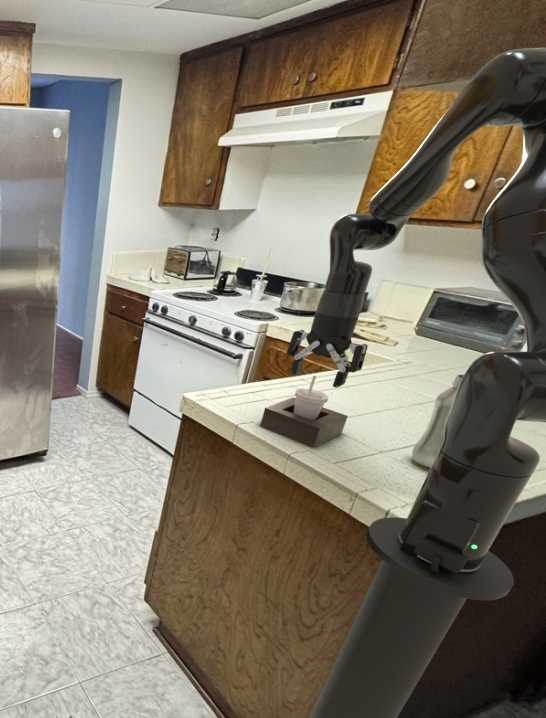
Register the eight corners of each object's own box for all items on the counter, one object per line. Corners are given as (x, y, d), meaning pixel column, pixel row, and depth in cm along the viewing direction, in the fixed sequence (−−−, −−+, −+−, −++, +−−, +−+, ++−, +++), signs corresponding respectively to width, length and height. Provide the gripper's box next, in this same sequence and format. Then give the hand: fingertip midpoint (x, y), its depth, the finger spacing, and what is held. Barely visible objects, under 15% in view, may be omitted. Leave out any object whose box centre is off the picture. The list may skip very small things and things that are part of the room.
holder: (313, 447, 106) (320, 428, 104) (259, 425, 116) (264, 407, 114) (341, 434, 111) (348, 415, 109) (287, 414, 121) (293, 397, 119)
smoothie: (288, 421, 118) (304, 369, 112) (319, 430, 113) (337, 376, 108) (281, 430, 113) (297, 377, 108) (313, 439, 109) (331, 384, 104)
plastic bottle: (445, 461, 100) (486, 375, 92) (453, 477, 95) (498, 387, 86) (405, 453, 103) (442, 369, 95) (411, 468, 98) (451, 380, 90)
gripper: (293, 307, 106) (275, 373, 112) (367, 321, 94) (342, 394, 101) (311, 303, 109) (292, 368, 115) (385, 316, 97) (359, 387, 104)
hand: (315, 380), depth 108 cm, fingers open, 8 cm apart
